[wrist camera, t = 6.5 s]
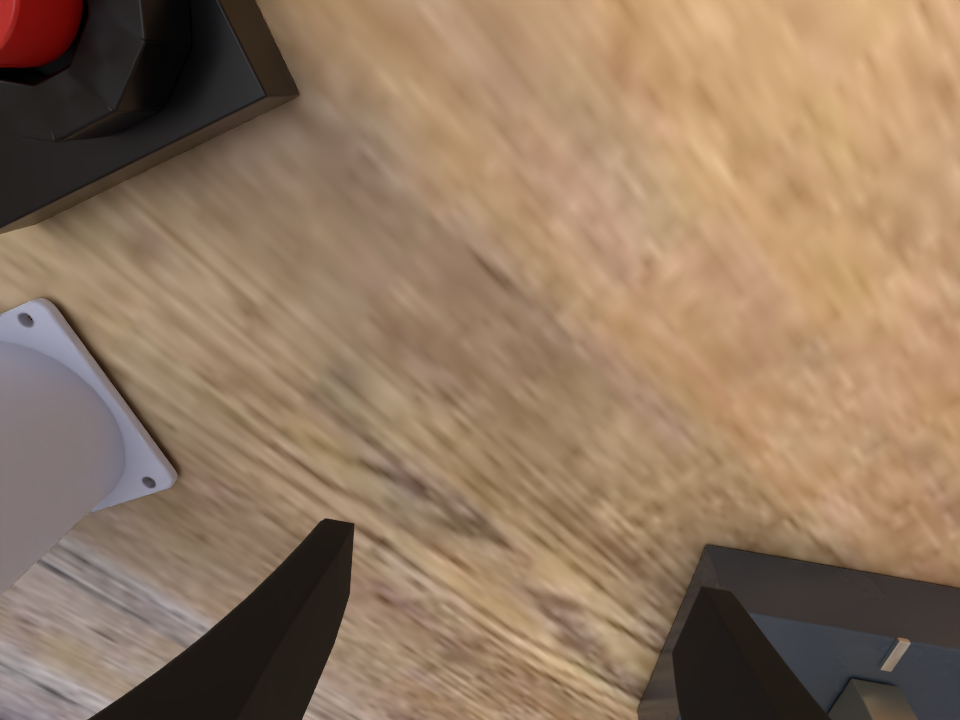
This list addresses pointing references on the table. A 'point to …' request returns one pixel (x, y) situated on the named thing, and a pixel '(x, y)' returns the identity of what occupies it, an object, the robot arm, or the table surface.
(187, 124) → the button box
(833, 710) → the silver block
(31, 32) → the red button
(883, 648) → the panel
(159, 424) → the table surface
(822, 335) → the table surface
